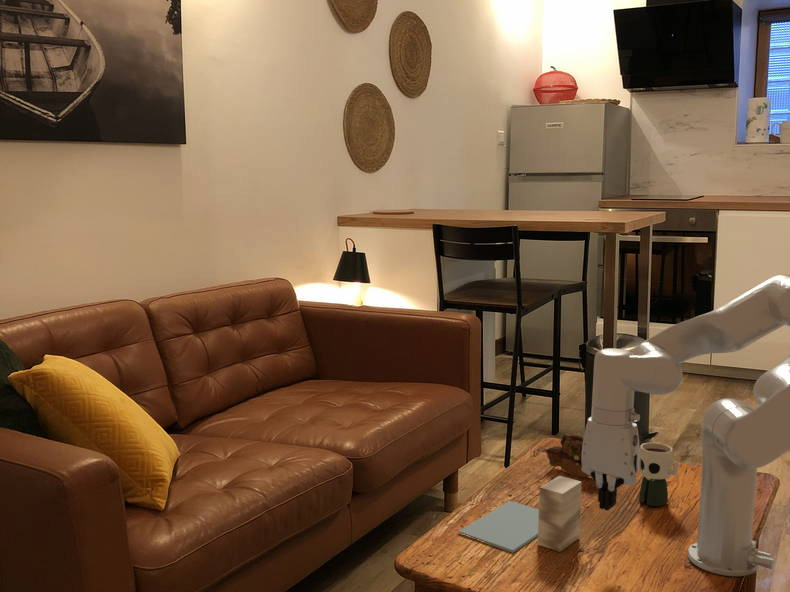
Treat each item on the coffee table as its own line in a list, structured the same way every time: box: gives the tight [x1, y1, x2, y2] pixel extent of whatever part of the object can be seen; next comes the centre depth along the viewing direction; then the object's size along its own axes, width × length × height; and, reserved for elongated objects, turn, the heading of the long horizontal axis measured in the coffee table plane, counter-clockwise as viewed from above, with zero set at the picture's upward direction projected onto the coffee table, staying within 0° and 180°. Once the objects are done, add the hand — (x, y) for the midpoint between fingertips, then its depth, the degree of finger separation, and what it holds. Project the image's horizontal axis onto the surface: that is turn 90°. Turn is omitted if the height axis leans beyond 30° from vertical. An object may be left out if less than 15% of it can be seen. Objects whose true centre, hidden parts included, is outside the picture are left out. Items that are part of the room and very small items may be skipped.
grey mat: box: [457, 500, 539, 554], centre depth 171 cm, size 13×20×1 cm, turn 141°
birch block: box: [537, 475, 582, 553], centre depth 163 cm, size 5×8×12 cm, turn 141°
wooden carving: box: [545, 433, 591, 478], centre depth 199 cm, size 16×5×10 cm, turn 53°
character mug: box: [638, 442, 679, 507], centre depth 182 cm, size 11×7×13 cm, turn 38°
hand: (606, 507), depth 156 cm, fingers closed
